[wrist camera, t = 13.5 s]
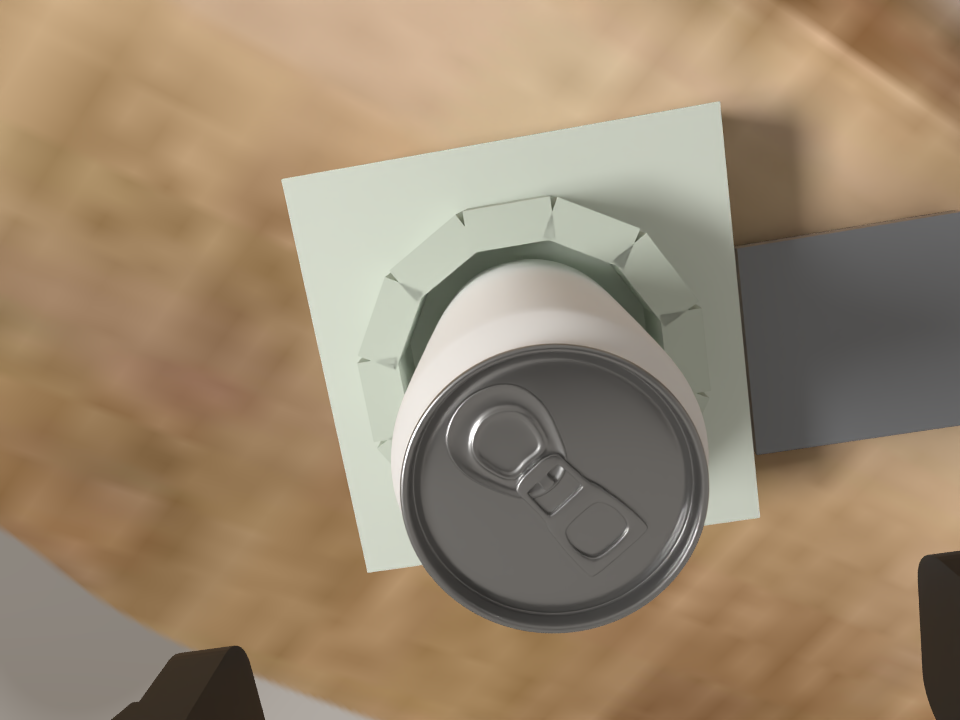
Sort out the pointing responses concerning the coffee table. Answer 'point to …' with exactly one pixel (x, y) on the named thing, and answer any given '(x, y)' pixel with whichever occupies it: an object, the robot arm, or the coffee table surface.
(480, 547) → the can
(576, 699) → the coffee table surface
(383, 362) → the pedestal block
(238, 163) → the coffee table surface
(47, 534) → the coffee table surface
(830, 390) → the slate coaster
